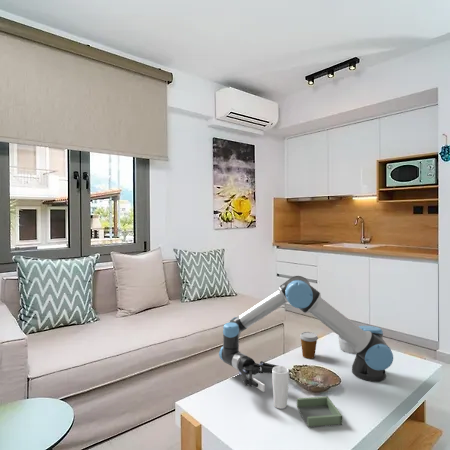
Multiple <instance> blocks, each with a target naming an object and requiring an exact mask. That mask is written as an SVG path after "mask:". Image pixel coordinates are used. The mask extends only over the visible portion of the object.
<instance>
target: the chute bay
mask: <svg viewBox="0 0 450 450" xmlns="http://www.w3.org/2000/svg"><path fill="white" fill-rule="evenodd" d="M296 407H297V409H298V411H299V413H300V415H301V417H302V418H303V420H304V422H305V424H306V426H307V428H308V429H309V428H310V429H311V428H323V427H324V428H325V427H334V426H335V427H336V426H343V415H342V413H341V412H340V410H339V409H338V408H337V407H336V405H335V404H334V403H333V402H332V400H331V399H330V397H329V396H314V397H298V398H296Z"/></svg>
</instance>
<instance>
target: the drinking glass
mask: <svg viewBox="0 0 450 450" xmlns="http://www.w3.org/2000/svg"><path fill="white" fill-rule="evenodd" d="M271 382H272V394H273V395H272V397H273V405H274V407H275V408H276V409H279V410H280V409H281V410H283V409H286V407H287V406H288V396H289V395H288V392H289V384H290V371H289V368H288V367H286V366H283V365H277V366H276V367H273V369H272V374H271Z"/></svg>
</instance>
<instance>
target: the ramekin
mask: <svg viewBox="0 0 450 450" xmlns="http://www.w3.org/2000/svg"><path fill="white" fill-rule="evenodd" d="M338 344H339V345H338V346H339V348H340V350H341V351H343V352H344V353H347V354H356V353H355V352H354V351H353V346H352V345H350V344H349V343H348V342H347V341H345V340H344V339H343V338H341V337H340V336H339V335H338Z"/></svg>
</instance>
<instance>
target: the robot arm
mask: <svg viewBox="0 0 450 450" xmlns="http://www.w3.org/2000/svg"><path fill="white" fill-rule="evenodd" d="M321 296H322V295H321V292H320V291H318V290H317V289H316V288H315V287H313V286H312V285H311V284H310V282H309V280H308V279H307V278H306V277H304V276H301V275H294V276H291V277H290V278H288V280H286V281H285V282H283V283H282V284H281V285H279V286H278V289H277V290H275V291H274V292H272V293H271V294H269V295H268V296H267V297H264V298H263V299H262V300H261V301H259V302H257V303H256V304H254V305H253V306H252V307H249V308H248V309H247V310H246V311H244V312H242V313H241V314H239V315H237V316H234V317H233V318H231V320H229V322H226V323H225V324H224V325H223V330H222V334H223V335H222V337H223V338H222V340H223V342H222V343H223V345H222V346H221V348H220V349H219V352H218V356H219V358H220V359H221V360H222V361H223V362H224V363H225V364H228V365H229V366H231V367H232V368H234V369H235V370H237V371H238V375H239V376H240V377H241V379H242V382H243V384H244V385H245V386H246V387H247V386H249V387H250V388H252V387H254V388H257V389H258V390H260V391H261V392H263V393H264V392H266V385H265V383H262V382H261V381H260V380H259V379H256V377H255V378H254V377H253V376H255V375H258V374H271V375H272V369H273V367H276V366H278V365H276V364H271V363H267V362H265V361H260V363H256V361H255V360H254V359H253V358H251V357H250V356H248V355H247V354H244V353H243V352H241V351H239V349H240V348H239V347H240V345H239V343H240V342H239V339H240V336H241V334H242V332H244V331H245V330H246V329H249V327H251V326H253V325H254V324H256V323H257V322H259V321H260V320H262V319H264V318H265V317H267V316H268V315H270V314H271V313H273V312H274V311H276V310H277V309H279V308H281V307H283V306H284V305H285V304H286V303H289V305H291V306H292V307H293V308H295V309H299V310H300V311H302V312H303V313H304V314H306V313H307V314H310V315H312V316H313V317H314V318H315V319H317V320H319V321H320V323H322V324H323V325H325V326H326V327H328V329H330V330H331V331H333V332H334V333H335V334H336V335H337V336H338V337H339V336H340V337H341V338H343V339H344V340H345V341H347V342H348V343H349V344H350V345H352V346H353V351H354V352H355V353H354V354H355V356H354V357H355V358H354V360H353V362H352V365H351V366H352V367H351V373H352V374H353V375H354V376H355V377H356V378H359V379H361V380H363V381H368V382H382V381H384V380H385V379H386V378H387V371H386V370H387V369H388V368H390V367H391V366H392V364H393V362H394V354H393V352H392V351H393V350H392V349H391V347H390V346H389V345H388V344H387V343H386V341H385V340H384V337H383V336H384V333H383V332H384V330H383V329H382V328H380V327H378V326H372V325H357V324H356V323H355V322H353V321H352V320H350V319H349V318H348V317H347V316H345V315H344V314H343V313H341V312H340V311H339V310H338V309H336V308H335V307H334V306H332V305H331V304H330V303H329V302H327V301H326V300H324V298H322V297H321ZM247 376H248V377H247Z"/></svg>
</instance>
